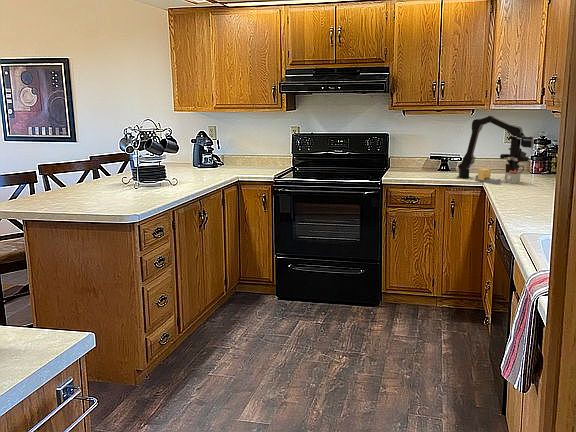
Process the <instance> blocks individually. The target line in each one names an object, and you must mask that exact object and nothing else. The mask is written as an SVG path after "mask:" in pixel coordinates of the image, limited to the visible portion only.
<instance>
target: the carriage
mask: <svg viewBox="0 0 576 432" xmlns="http://www.w3.org/2000/svg"><path fill="white" fill-rule="evenodd" d="M477 171H478V172H477V175H478V179H480V180H484V179H485V178H491V171H492V170H491V169H488V168H478V170H477Z"/></svg>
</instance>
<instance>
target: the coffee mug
mask: <svg viewBox="0 0 576 432" xmlns="http://www.w3.org/2000/svg"><path fill="white" fill-rule="evenodd" d="M520 167H522V170H521V171H519V168H520ZM524 170H525V166H523V165H520V163H518V164H517V166H516V168H515V170H514V171H517V173H519V174H521V173H522V172H523V171H524ZM509 171H512V170H511V167H510V165H509V163H508V162H506V163H505V173H509Z"/></svg>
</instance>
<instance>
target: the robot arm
mask: <svg viewBox="0 0 576 432" xmlns="http://www.w3.org/2000/svg"><path fill="white" fill-rule="evenodd" d="M488 123H491V124H492V125H495V126H498V127H499V128H500V129H503V130H505V131H507V132H508V133H509V134H510V136H509V137H508V138H507V139H508V140H510V147H508V150H509V153H501V154H500V156H499V159H503V160H504V159H506V162H507V163H509V165H510V167H511V170H512V171H514V170H515V168H516V166H517V164H520V162H521V163H522V162H525V163H526V162H529V160H530V158H529V156H527V152H525V151H522V148H527V149H528V148H529V149H532V148H533V147H534V143H535V142H534V136H526V135H525V134H524V132H523V128H522V127H521V126H517V125H513V124H510V123H508V122H505V121H504V120H501V119H499V118H497V117H495V116H493V115H487V116H486V117H483V118H476V119H474V120H472V123H471V135H470V139H469V143H468V147H467V151H466V153H465V155H464V157H463V159H462V160H461V163H459V164H458V165H457V168H458V176H456V178H460V179H471V177H470V168H471V166H473V165H474V163H475V161H476V156H474V153H475V150H476V145H477V143H478V138H479V134H480V132H481V131H482V130H483V127H484V125H487V124H488ZM521 146H522V148H521Z"/></svg>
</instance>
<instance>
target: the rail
mask: <svg viewBox="0 0 576 432" xmlns="http://www.w3.org/2000/svg"><path fill="white" fill-rule="evenodd" d="M475 181H476V182H477V181H478V182H482V183H486V184H487V183H488V184H492V185H501V181H502V179H501V178H497V179H496V178H491V177H490V178H485V179H484V180H480V179H478V174H477V175H475Z"/></svg>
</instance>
